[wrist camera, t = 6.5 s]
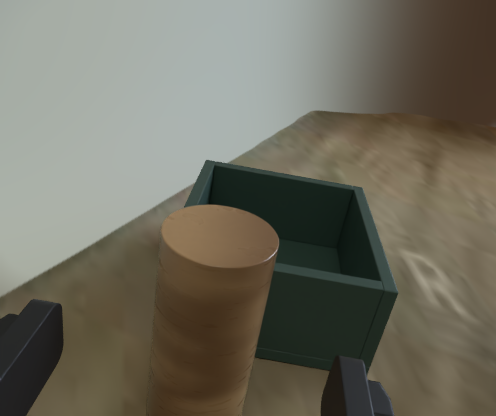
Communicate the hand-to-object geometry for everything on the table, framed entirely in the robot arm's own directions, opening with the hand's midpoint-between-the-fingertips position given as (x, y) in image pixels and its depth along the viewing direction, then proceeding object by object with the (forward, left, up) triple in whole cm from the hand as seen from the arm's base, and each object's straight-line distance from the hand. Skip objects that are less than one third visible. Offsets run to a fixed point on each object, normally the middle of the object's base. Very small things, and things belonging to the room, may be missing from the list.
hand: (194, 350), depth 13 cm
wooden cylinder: (0, +3, -10) cm, 11 cm away
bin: (+3, +17, -10) cm, 20 cm away
